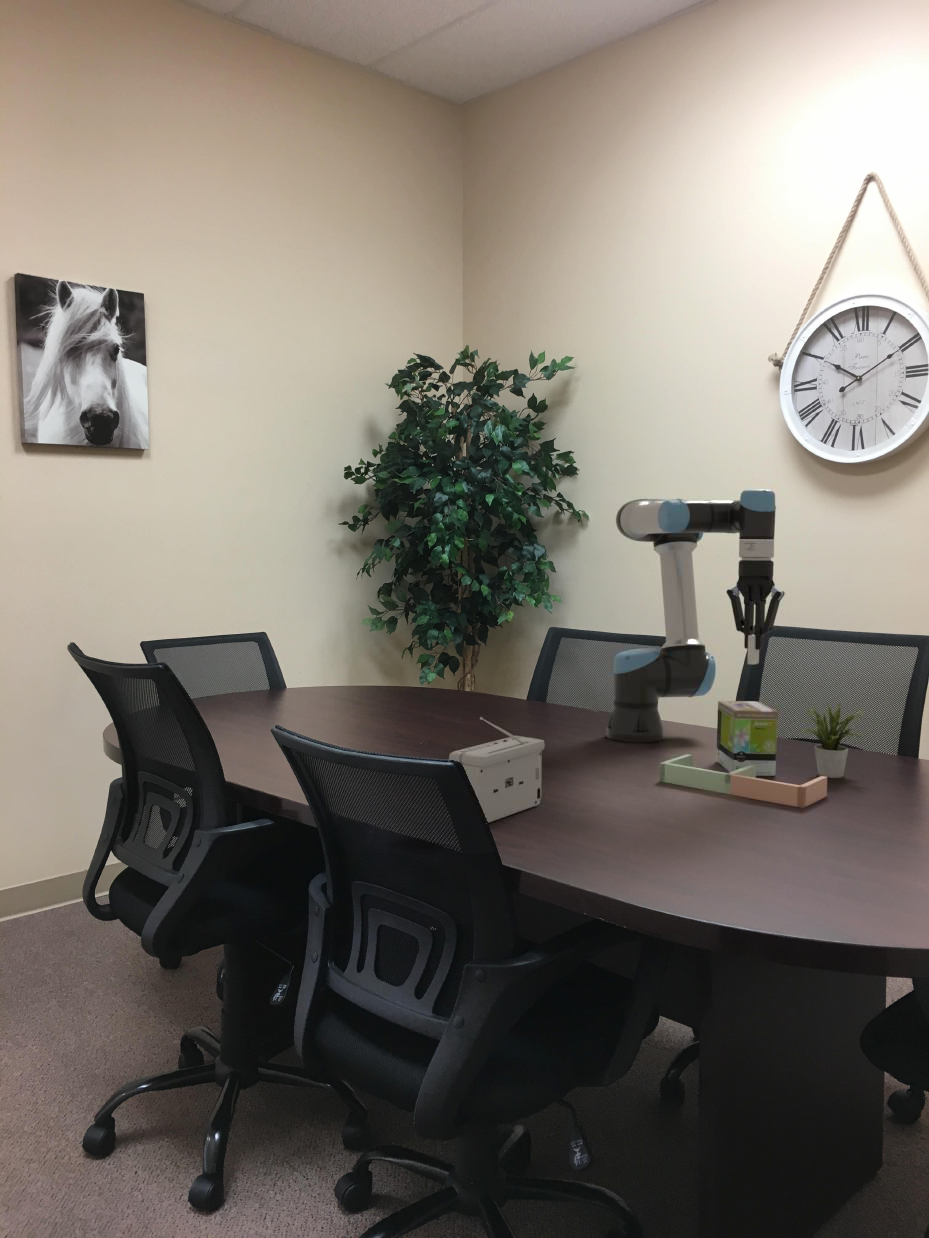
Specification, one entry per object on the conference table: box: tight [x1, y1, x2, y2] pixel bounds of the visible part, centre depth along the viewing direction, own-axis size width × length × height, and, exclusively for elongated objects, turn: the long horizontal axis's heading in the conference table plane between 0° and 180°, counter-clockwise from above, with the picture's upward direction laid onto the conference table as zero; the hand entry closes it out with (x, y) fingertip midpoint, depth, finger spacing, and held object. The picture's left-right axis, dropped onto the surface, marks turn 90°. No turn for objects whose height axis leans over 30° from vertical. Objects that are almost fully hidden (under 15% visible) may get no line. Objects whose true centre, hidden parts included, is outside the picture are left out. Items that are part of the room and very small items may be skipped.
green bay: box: [659, 753, 757, 795], centre depth 204 cm, size 16×12×4 cm
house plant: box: [803, 702, 865, 779], centre depth 209 cm, size 14×14×16 cm
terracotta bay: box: [729, 774, 828, 809], centre depth 193 cm, size 15×12×4 cm
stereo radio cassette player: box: [448, 716, 546, 824], centre depth 180 cm, size 21×8×20 cm, turn 141°
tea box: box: [715, 700, 779, 777], centre depth 216 cm, size 15×10×15 cm
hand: (753, 663), depth 215 cm, fingers closed
